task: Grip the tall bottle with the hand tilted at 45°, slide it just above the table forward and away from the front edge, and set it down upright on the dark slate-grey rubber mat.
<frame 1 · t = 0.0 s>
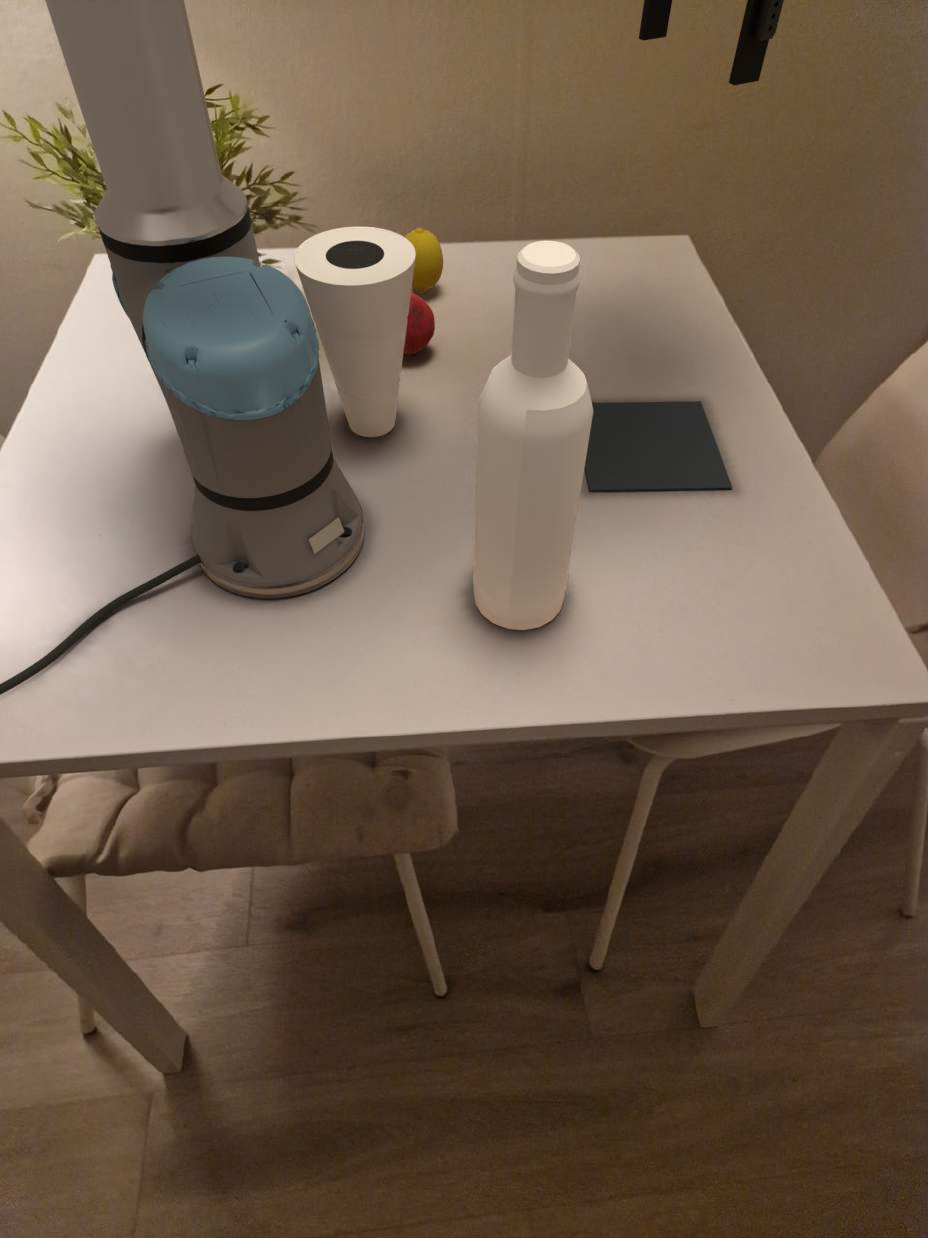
hand: (695, 59, 73), 28 cm above the table, tool pointing down, fingers open, 13 cm apart
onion: (410, 355, 92), on the table
bottle: (518, 597, 69), on the table
cup: (372, 424, 84), on the table
mat: (647, 445, 82), on the table
lemon: (422, 293, 101), on the table
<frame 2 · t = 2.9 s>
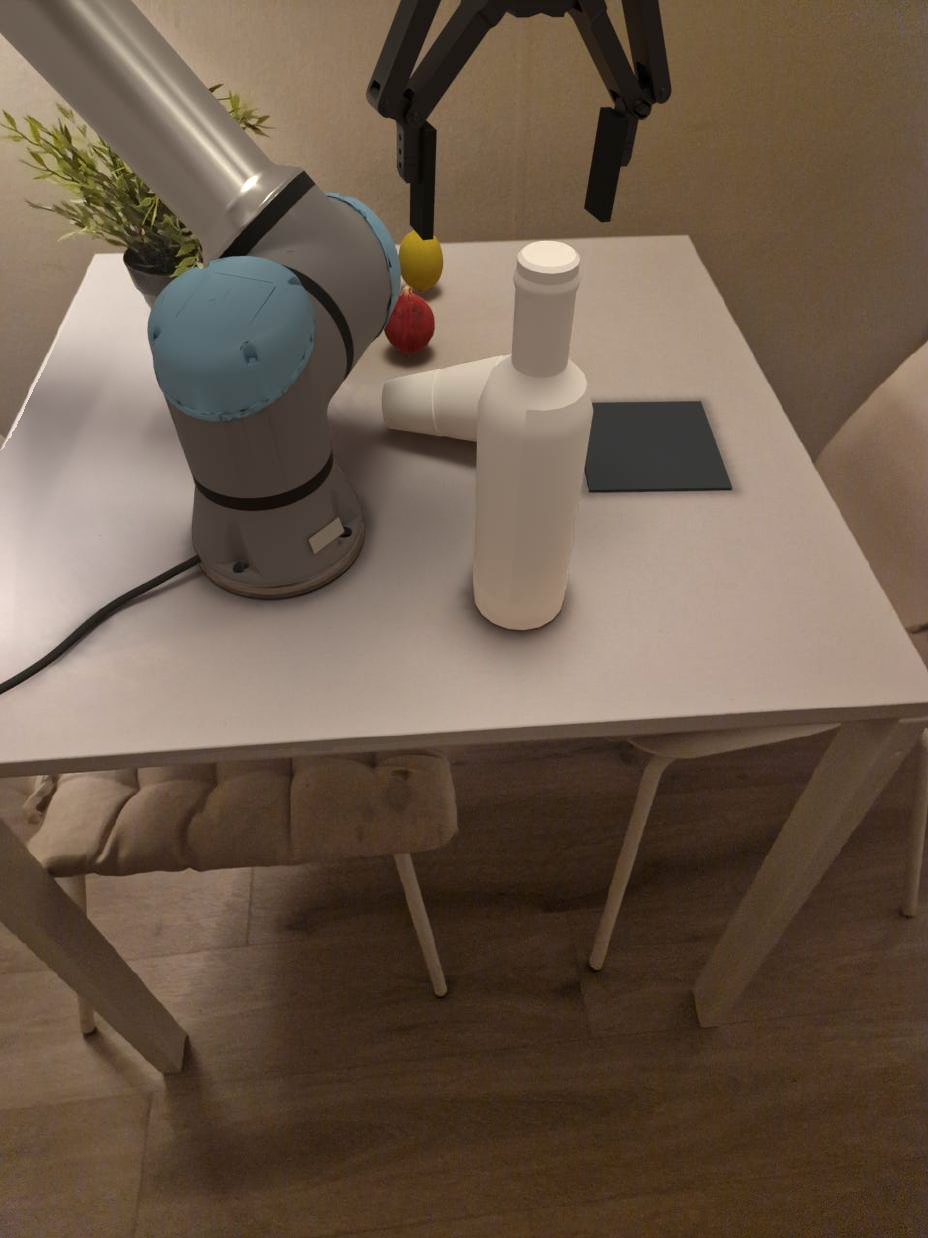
hand: (512, 223, 56), 26 cm above the table, tool pointing down, fingers open, 13 cm apart
cup: (387, 404, 81), point 3 cm above the table
everything else where it was.
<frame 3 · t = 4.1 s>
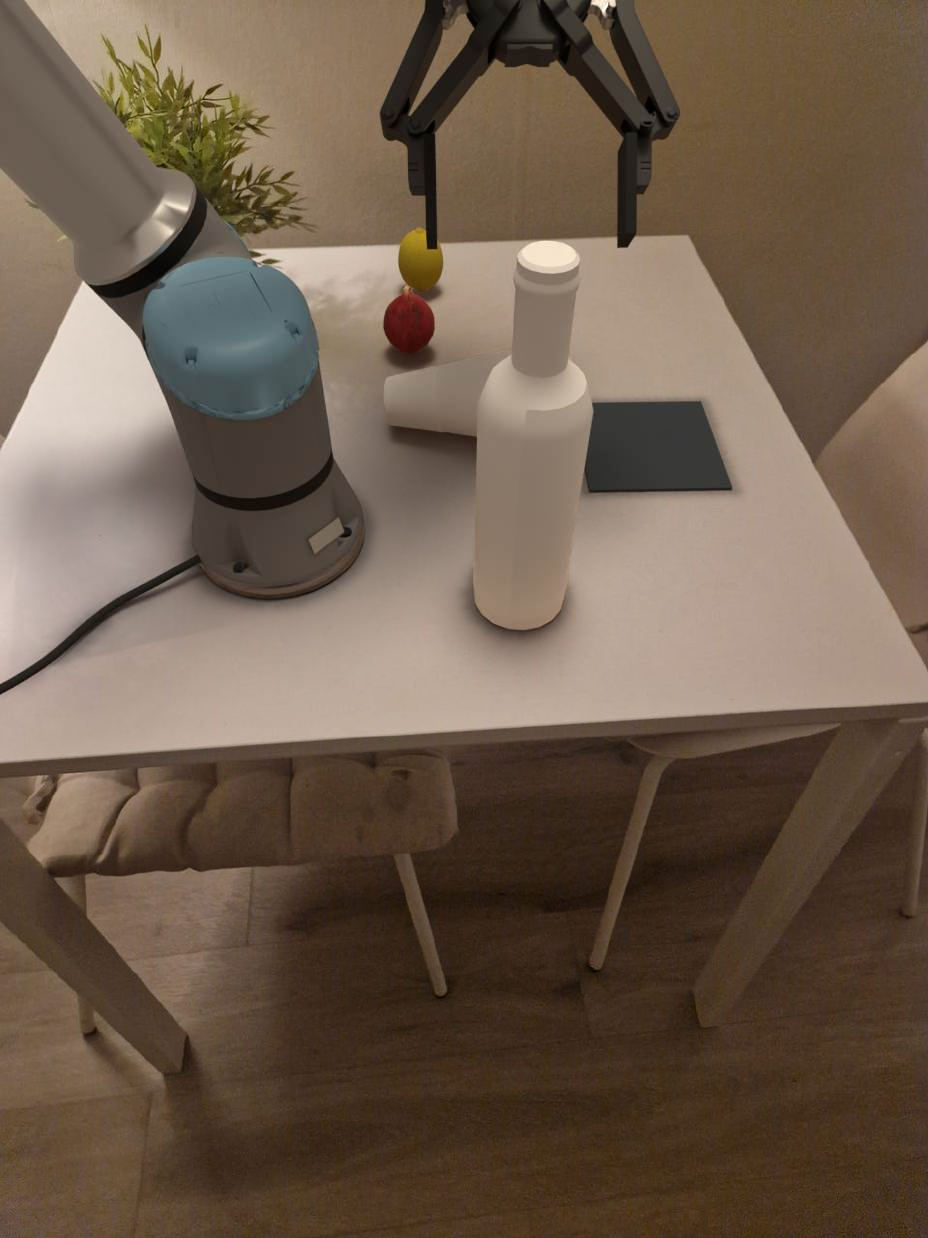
hand: (529, 242, 55), 26 cm above the table, tool tilted 45°, fingers open, 13 cm apart
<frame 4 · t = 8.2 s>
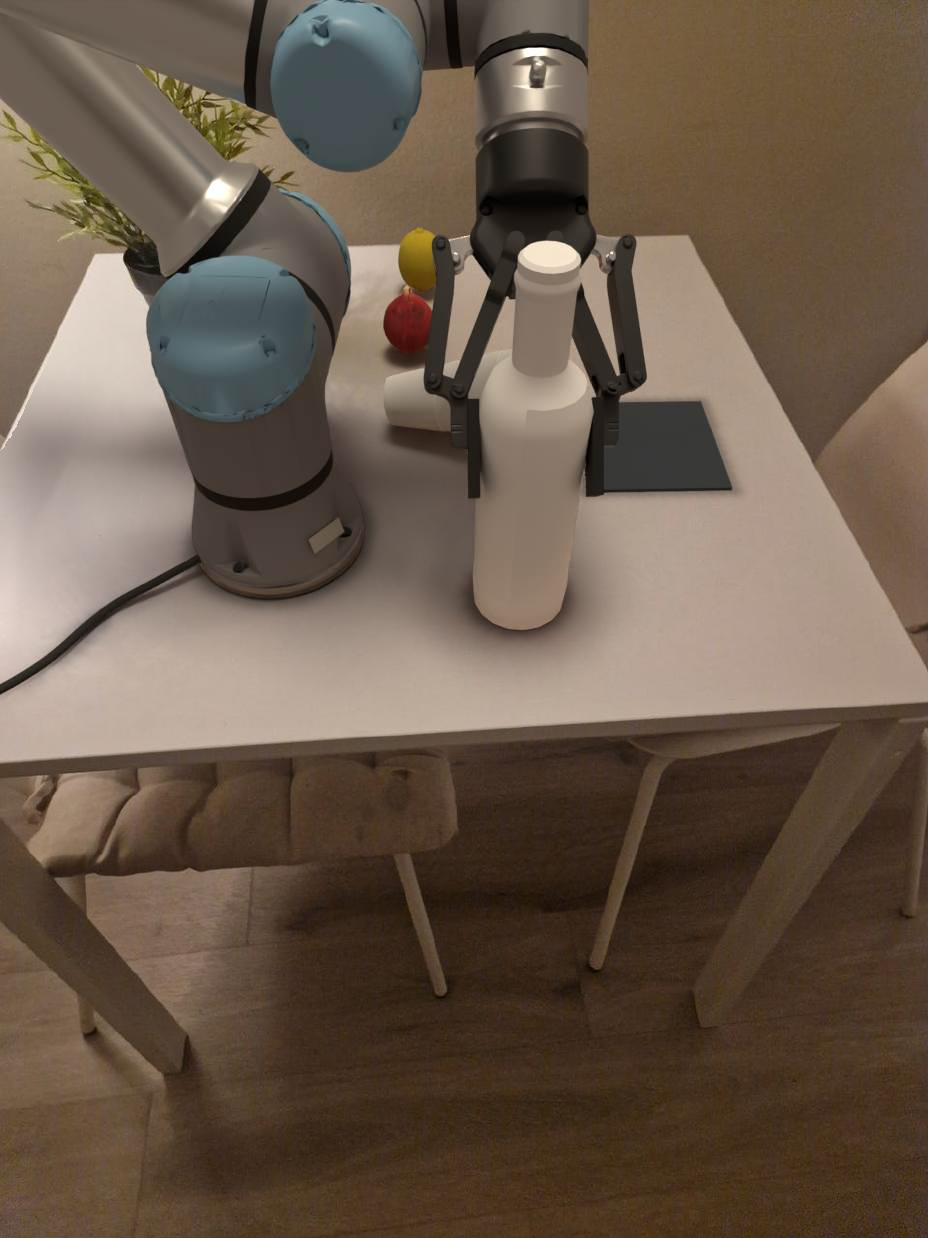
hand: (534, 496, 55), 15 cm above the table, tool tilted 45°, fingers closed on bottle, 8 cm apart
bottle: (518, 597, 69), on the table, touching gripper
everything else where it was.
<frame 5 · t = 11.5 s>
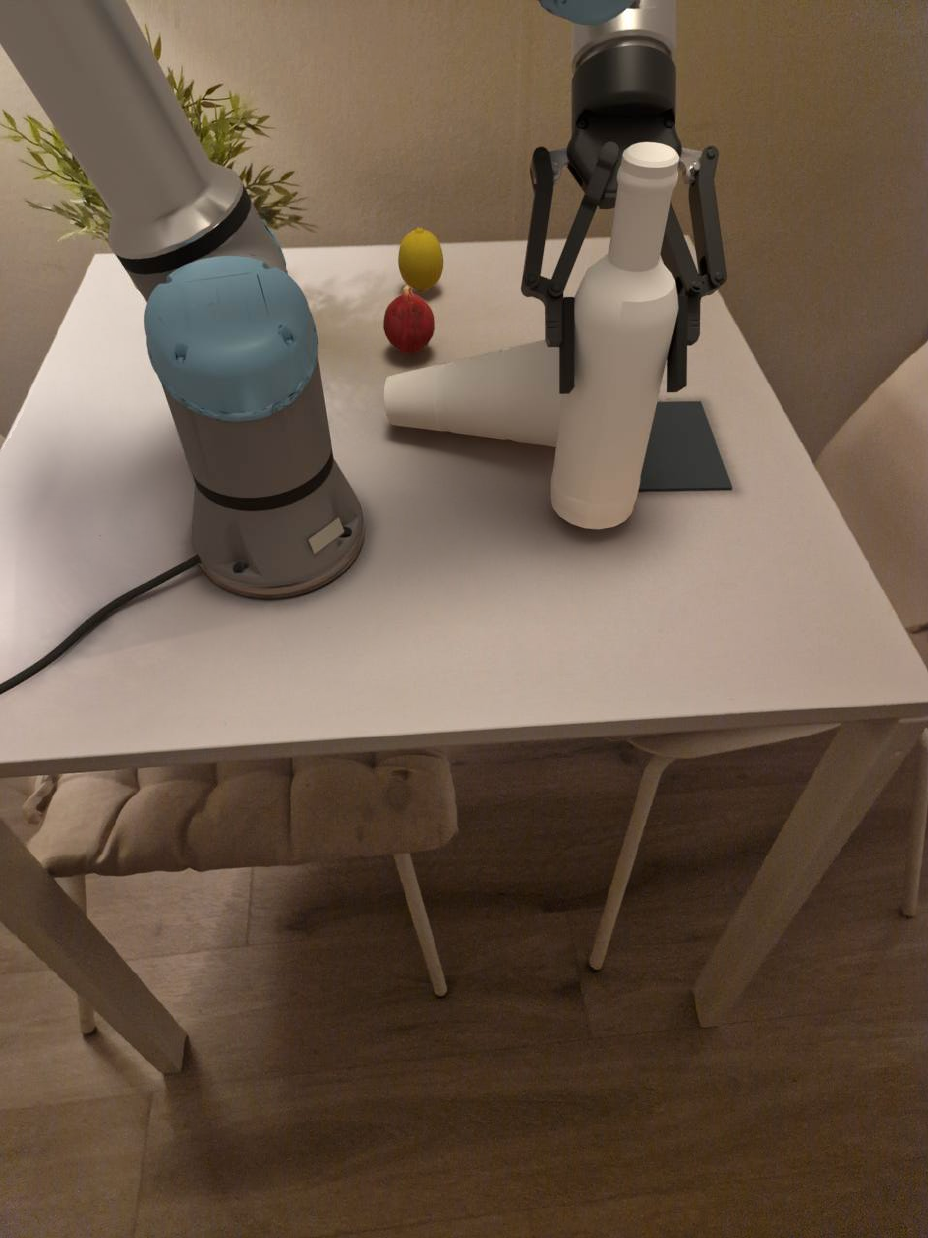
hand: (621, 389, 60), 16 cm above the table, tool tilted 45°, fingers closed on bottle, 8 cm apart
bottle: (591, 502, 74), point 1 cm above the table, touching gripper
everything else where it was.
when the fingers open (15 cm above the table, at t = 14.8 s): bottle stays where it is, resting on mat.
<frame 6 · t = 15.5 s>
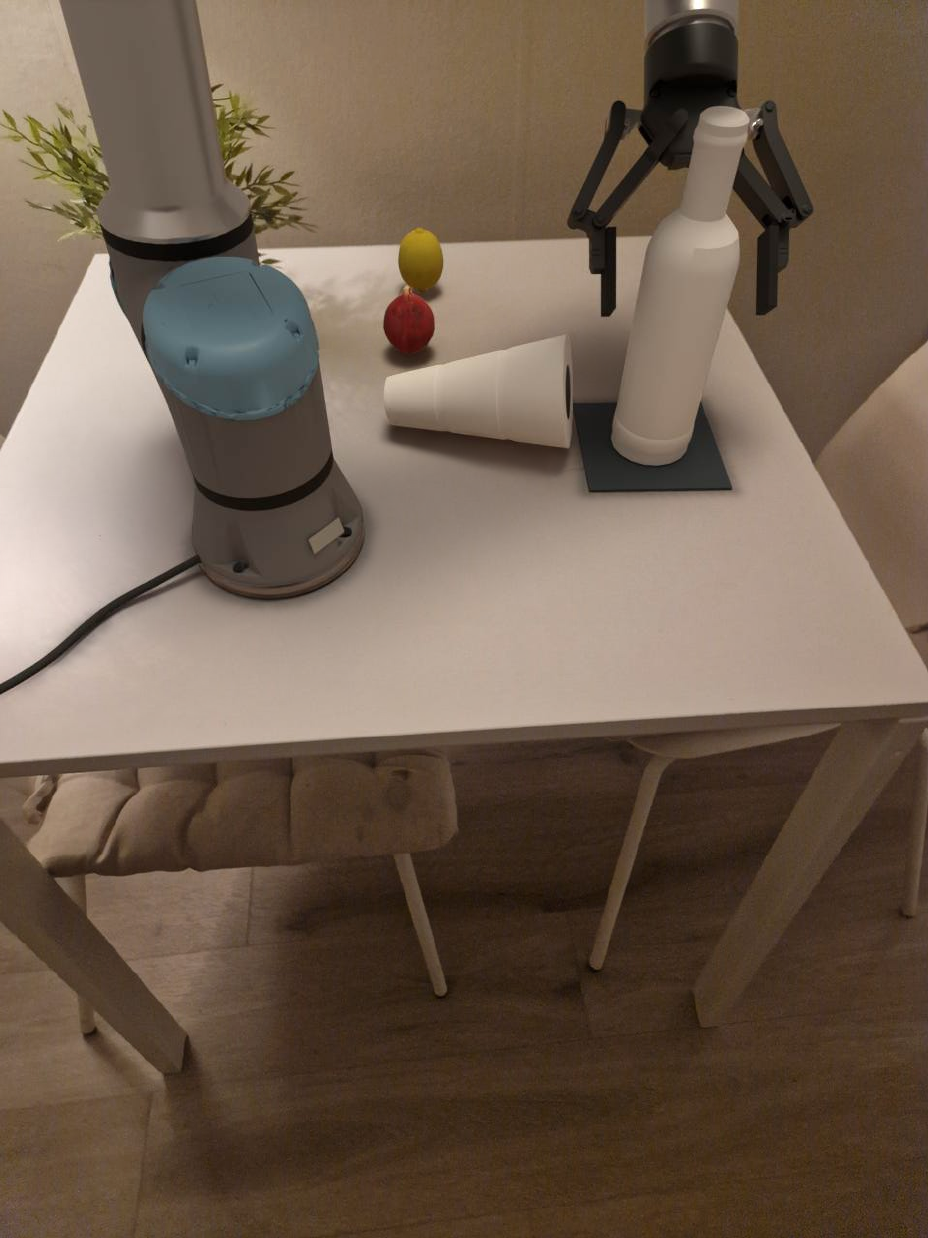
hand: (687, 312, 68), 16 cm above the table, tool tilted 45°, fingers open, 13 cm apart
bottle: (648, 443, 82), resting on mat
everything else where it was.
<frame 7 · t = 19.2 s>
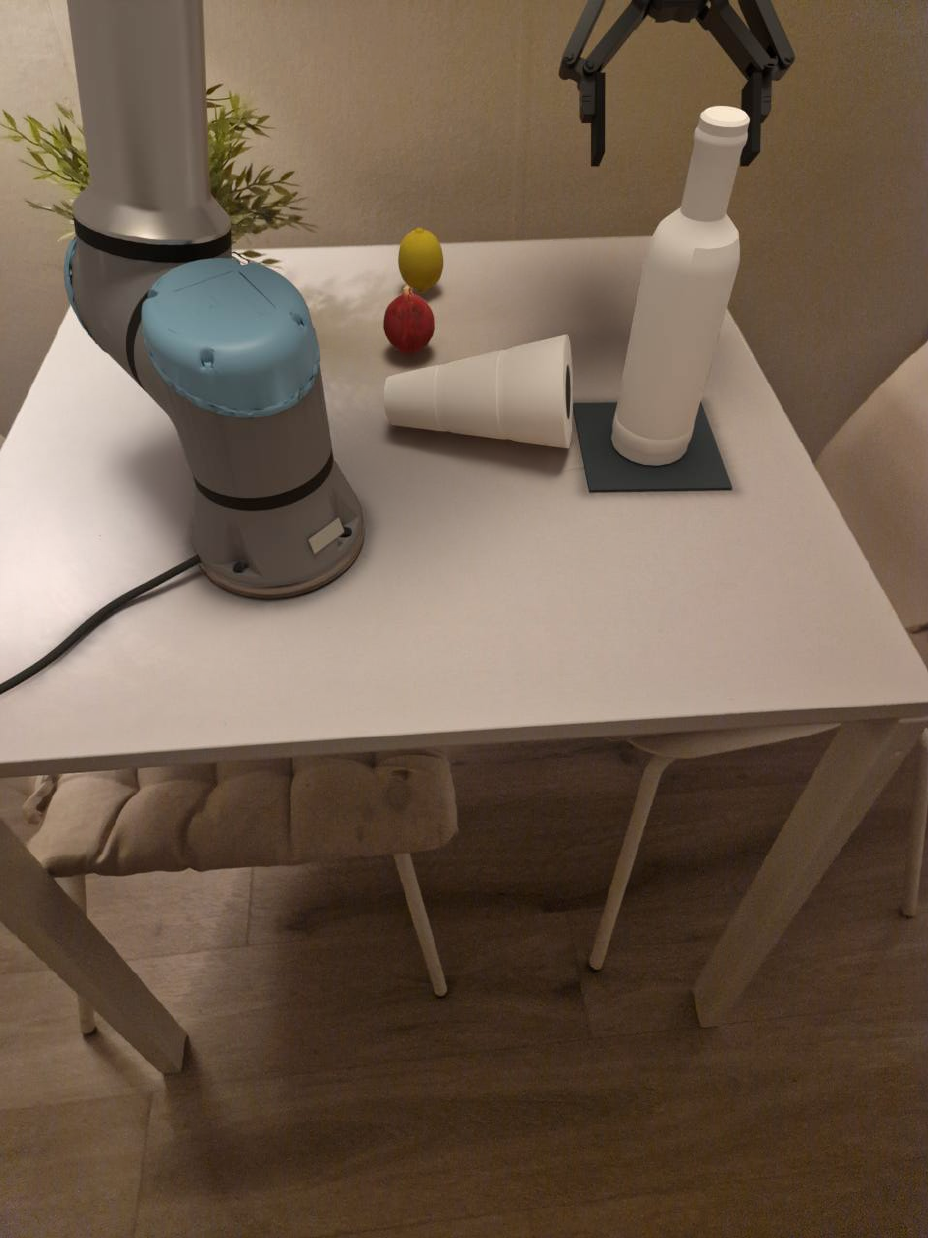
hand: (674, 159, 70), 23 cm above the table, tool tilted 45°, fingers open, 13 cm apart
nothing on the table moved.
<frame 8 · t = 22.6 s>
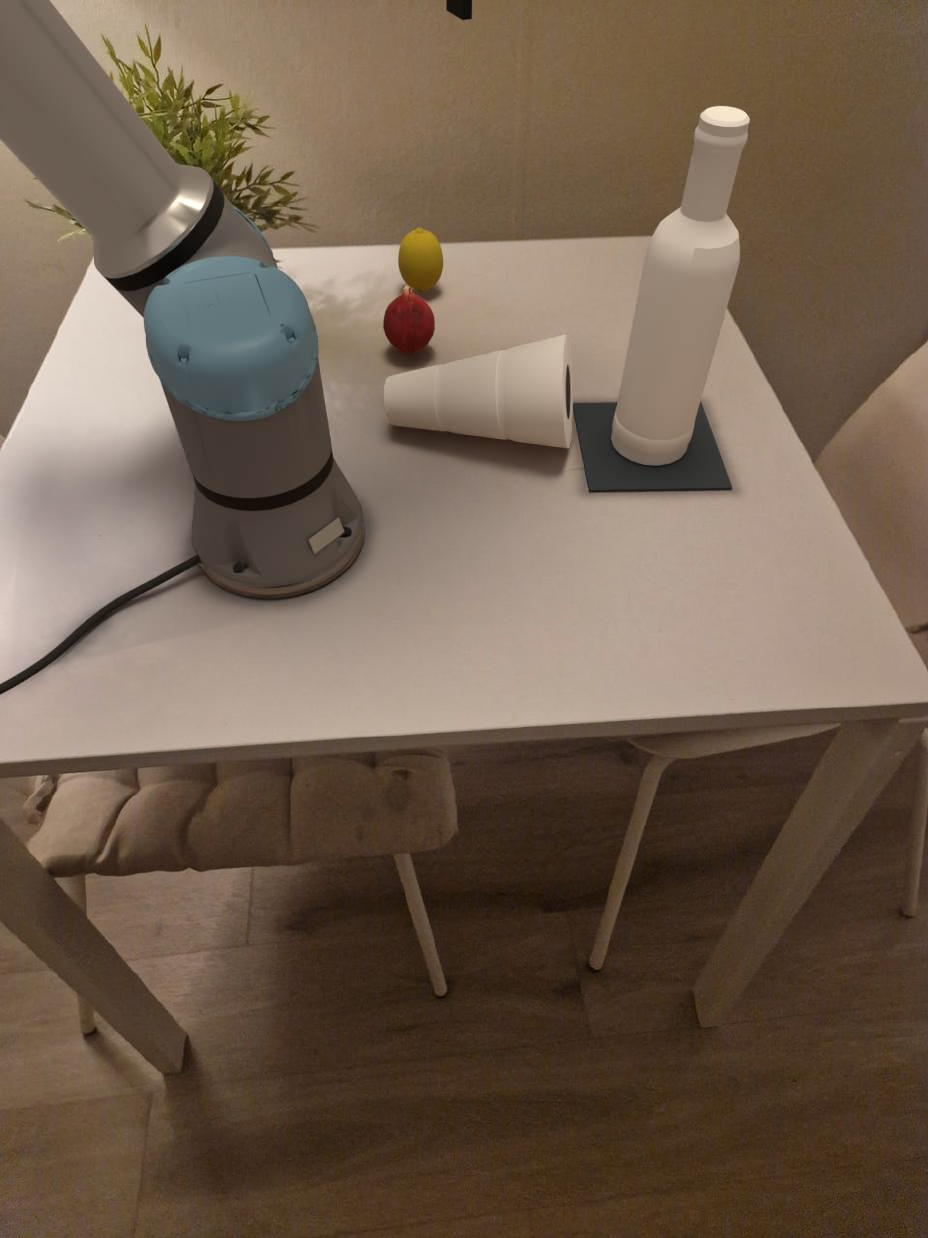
hand: (539, 3, 60), 35 cm above the table, tool pointing down, fingers open, 13 cm apart
nothing on the table moved.
at the end: bottle inside the target area on the mat (0.1 cm from its centre), point 0.1 cm above the mat's base; bottle tilted 0°; the gripper is holding nothing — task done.
